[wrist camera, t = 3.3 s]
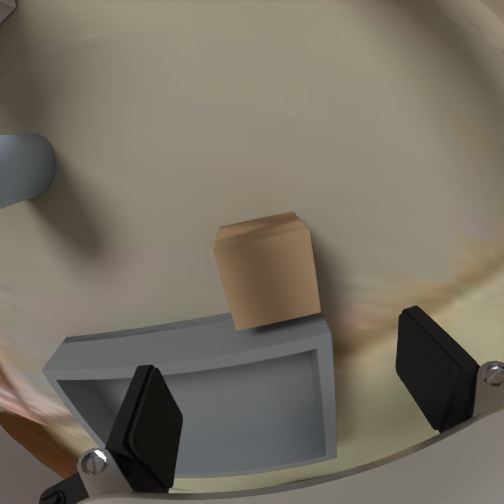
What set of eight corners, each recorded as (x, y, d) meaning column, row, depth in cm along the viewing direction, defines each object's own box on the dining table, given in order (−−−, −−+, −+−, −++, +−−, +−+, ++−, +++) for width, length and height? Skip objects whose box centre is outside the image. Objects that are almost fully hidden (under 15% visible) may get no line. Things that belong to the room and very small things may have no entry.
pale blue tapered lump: (48, 124, 17) (-13, 122, 10) (60, 185, 18) (0, 203, 12) (7, 149, 17) (-51, 156, 10) (19, 204, 18) (-38, 227, 12)
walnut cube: (292, 211, 20) (309, 229, 15) (303, 277, 21) (320, 312, 17) (219, 226, 20) (213, 250, 15) (236, 292, 21) (236, 330, 17)
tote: (312, 295, 22) (331, 331, 17) (325, 421, 27) (336, 457, 22) (66, 337, 22) (41, 370, 18) (136, 443, 27) (127, 475, 23)
